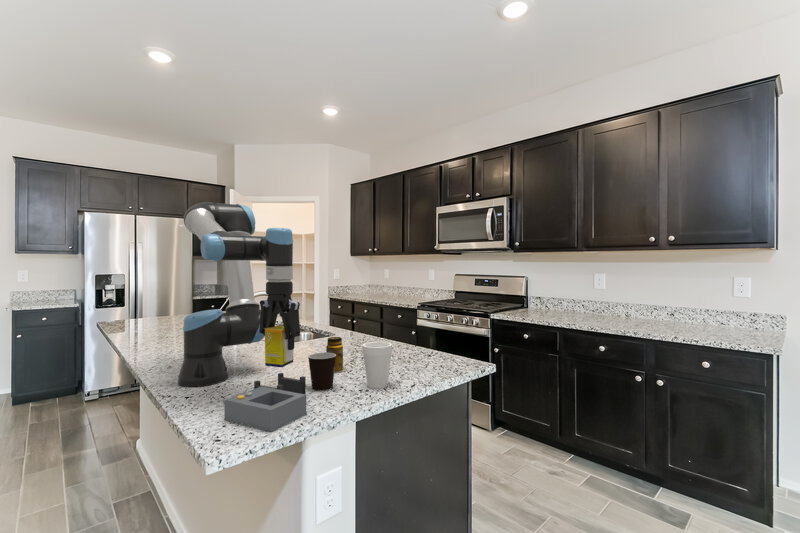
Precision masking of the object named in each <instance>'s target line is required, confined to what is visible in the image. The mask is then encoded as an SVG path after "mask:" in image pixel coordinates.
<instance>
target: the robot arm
mask: <svg viewBox="0 0 800 533" xmlns="http://www.w3.org/2000/svg"><path fill="white" fill-rule="evenodd" d="M183 223H184V226H185V228H186V230H188V231H189V232H190V233H191V234H193V235H196V237H198V240H200V253H201V258H202V259H204V260H205V261H213V262H214V261H215V262H219V261H221V262H223V261H225V263H224V264H225V271H226V281H227V290H228V291H227V292H228V293H227V294H228V300H229V301H228V303H229V304H228V305H227V306H226V308H225V312H223V311H222V309H220V308H217V309H216V308H215V309H206V310H201V311H196V312H192V313H190V314H188V315H186V316H185V317H184V319H183V327H182V331H183V362H182V364H181V367H180V369H179V372H178V375H177V384H178V385H179V386H181V387H193V388H194V387H203V386H204V387H205V386H210V385H214V384H219V383H221V382H224V381H226V380H227V379H228V378H229V369H228V368H227V365H226V362H225V359H224V356H223V347H230V346H239V345H240V346H241V345H247V344H248V345H251V344H253V343H259V342H261V341H263V339H265V329H266V328H270V327H273V326H276V321H277V318H278V315H279V317H280V318H281V320H282V321H281V322H282V324H283V325H282V326H284V329H285V333H286V338H285V339H284V362H288V361H291V360H293V361H294V349H295V338H297V337H300V336H301V328H300V327H301V326H300V325H301V323H300V313H299V312H300V305H301V303H300V301H293V299H292V294H293V292H294V289H293V288H294V287H293V286H294V285H293V281H291V280H294V279H293V278H294V276H293V274H294V273H293V270H294V269H293V263H294V262H293V259H294V258H293V254H294V250H293V248H294V239H293V236H294V235H293V230H291V229H290V228H285V227H269V228H267V229H266V230H265V236H261V235H253V234H255V231H256V218H255V214H254V212H253V211H252V209H251V208H250V207H249V206H247V205H242V204H239V203H235V204H234V203H232V204H231V203H219V202H212V201H203V202H198V203H196V204H193V205H192V206H190V207H189V208H188V209H187V210H186V211H185V213H184V216H183ZM251 261H257V262H258V261H260V262H262V261H264V262H265V280H267V281H266V282H265V294H266V295H267V299H264V300H263V299H262V300H260V301H259V302H257V301H256V300H255V293H254V284H253V276H252V266H251ZM290 333H291V334H290Z"/></svg>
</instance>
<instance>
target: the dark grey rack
mask: <svg viewBox="0 0 800 533" xmlns="http://www.w3.org/2000/svg"><path fill="white" fill-rule="evenodd" d="M306 378H307V377H306V376H303V375H302V376H299V379H297V378H292V377H285V376H284V372H279V373H277V385H276V387H272V386H267V385H261V380H254V381H253V389H256V388H259V387H261V386H262V387H268V388H273V389H278V390H284V391H289V392H294V393H300V394H305V395H307V393H306V392H307V391H306V390H307V389H306V388H307V387H306V386H307V385H306V380H307V379H306Z"/></svg>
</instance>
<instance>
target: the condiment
mask: <svg viewBox="0 0 800 533" xmlns="http://www.w3.org/2000/svg"><path fill="white" fill-rule="evenodd" d="M342 340H343V338H342V337H341V336H330V337H328V338H327V339H326V342H327V345H326V352H325V353H334V354H336V360H335V370H334V374H335V373H337V374H338V373H342V372H346V371H348V369H346V368H344V346H343V343H342V342H343V341H342Z"/></svg>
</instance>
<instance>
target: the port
mask: <svg viewBox="0 0 800 533" xmlns="http://www.w3.org/2000/svg"><path fill="white" fill-rule="evenodd" d="M262 386H263V385H262ZM262 386H261V387H259V388H256V389H254V388H253V389H250V390H248V391H244V392H243V393H239V394H236V395H234V396H231V397H228V398H225V399H224V401H223V402H224V403H223V404H224V405H223V406H224V408H223V409H224V410H223V411H224V414H223V416H224V421H228V422H233V423H235V424H240V425H244V426H248V427H252V428H255V429H259V430H263V431H265V432H266V431H267V432H275V430H278V429H279V428H282V427H283V426H285V425H288V424H290V423H292V422H294V421H295V420H297V419H299V418H302V417H303V416H306V415H307V412H308V411H307V394H300V393H294V392H289V391H284V390H278V389H273V388H274V387H273V388H268V387H269V386H267V387H262Z"/></svg>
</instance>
